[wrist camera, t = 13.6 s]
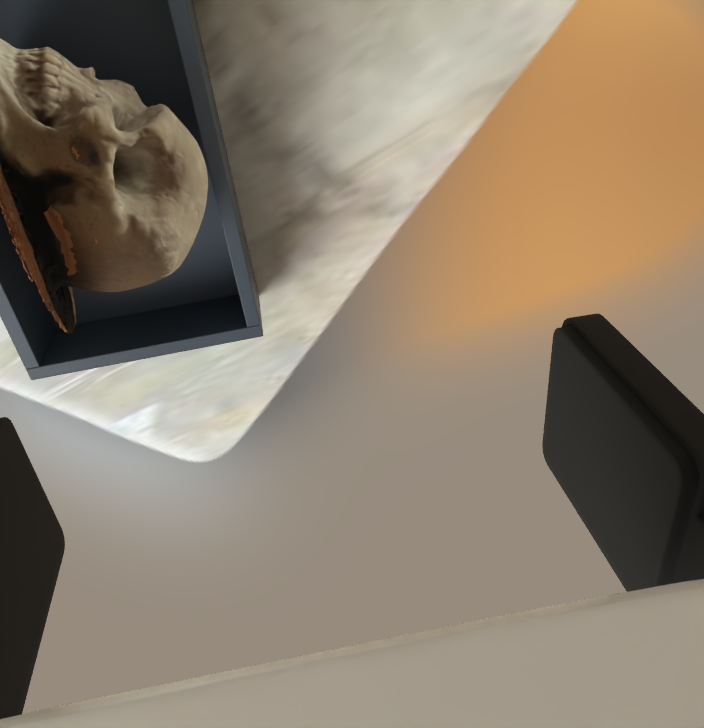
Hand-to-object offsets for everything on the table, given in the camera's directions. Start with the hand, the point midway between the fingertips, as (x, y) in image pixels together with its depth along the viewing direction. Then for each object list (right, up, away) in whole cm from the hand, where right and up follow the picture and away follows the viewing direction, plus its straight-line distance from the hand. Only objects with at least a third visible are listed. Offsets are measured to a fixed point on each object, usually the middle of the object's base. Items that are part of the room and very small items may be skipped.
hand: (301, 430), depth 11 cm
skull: (-14, +6, +11) cm, 19 cm away
